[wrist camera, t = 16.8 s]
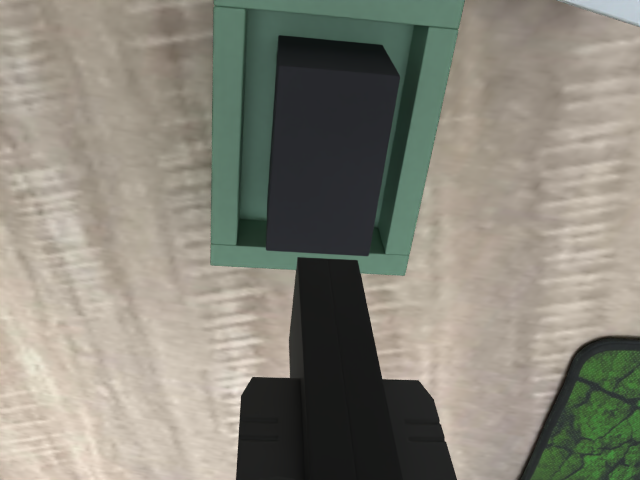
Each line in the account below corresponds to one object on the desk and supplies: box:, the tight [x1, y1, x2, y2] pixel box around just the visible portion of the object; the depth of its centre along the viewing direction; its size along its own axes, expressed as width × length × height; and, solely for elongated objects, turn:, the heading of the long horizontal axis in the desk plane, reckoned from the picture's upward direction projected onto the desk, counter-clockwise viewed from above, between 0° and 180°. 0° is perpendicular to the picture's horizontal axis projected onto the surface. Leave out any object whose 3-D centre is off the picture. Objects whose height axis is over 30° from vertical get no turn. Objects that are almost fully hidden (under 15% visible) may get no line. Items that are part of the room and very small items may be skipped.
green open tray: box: [210, 0, 465, 276], centre depth 27 cm, size 13×9×3 cm
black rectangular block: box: [266, 35, 400, 256], centre depth 26 cm, size 8×4×4 cm, turn 174°
